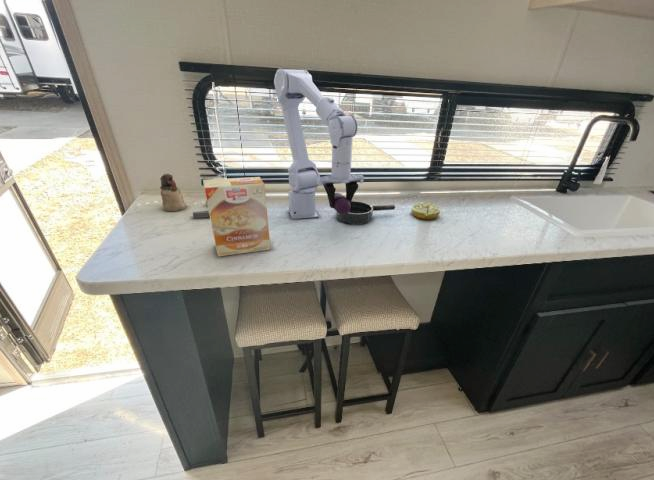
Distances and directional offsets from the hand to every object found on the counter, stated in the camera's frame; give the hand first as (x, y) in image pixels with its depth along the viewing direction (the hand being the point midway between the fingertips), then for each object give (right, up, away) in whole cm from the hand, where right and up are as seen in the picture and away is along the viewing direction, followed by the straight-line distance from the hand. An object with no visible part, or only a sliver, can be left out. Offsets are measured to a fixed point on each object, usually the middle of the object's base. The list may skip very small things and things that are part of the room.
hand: (339, 206), depth 106 cm
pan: (+5, 0, +16) cm, 17 cm away
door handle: (-44, +1, +12) cm, 45 cm away
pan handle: (+15, +4, +18) cm, 24 cm away
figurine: (-60, +3, +14) cm, 62 cm away
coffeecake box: (-28, -15, -8) cm, 33 cm away
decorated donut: (+32, +3, +22) cm, 39 cm away
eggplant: (0, -1, +2) cm, 2 cm away
